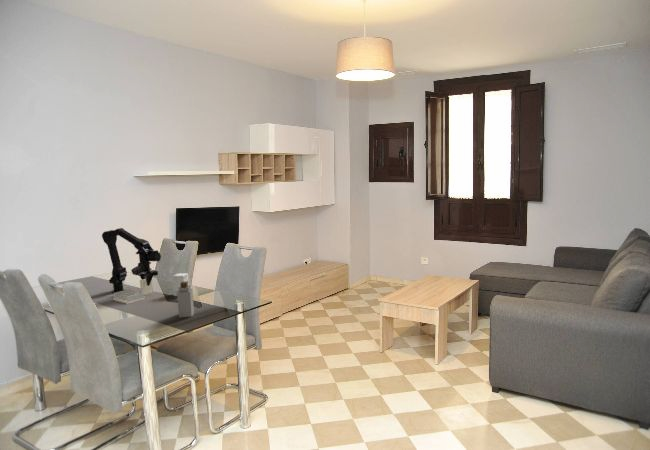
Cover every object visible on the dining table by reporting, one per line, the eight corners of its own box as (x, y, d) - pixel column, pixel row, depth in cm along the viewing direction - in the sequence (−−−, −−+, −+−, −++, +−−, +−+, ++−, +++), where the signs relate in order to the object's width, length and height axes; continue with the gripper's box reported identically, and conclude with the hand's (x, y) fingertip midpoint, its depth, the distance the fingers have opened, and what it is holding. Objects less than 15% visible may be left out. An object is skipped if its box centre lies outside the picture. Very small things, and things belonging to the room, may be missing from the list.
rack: (113, 299, 299) (112, 293, 298) (131, 294, 308) (131, 288, 307) (126, 303, 289) (126, 297, 289) (145, 298, 299) (144, 292, 298)
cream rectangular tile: (141, 294, 309) (139, 280, 308) (151, 291, 315) (149, 277, 314) (143, 294, 308) (142, 280, 307) (153, 291, 313) (152, 278, 312)
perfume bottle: (181, 313, 269) (178, 281, 266) (194, 312, 269) (191, 280, 267) (178, 317, 262) (176, 284, 260) (191, 316, 263) (189, 283, 260)
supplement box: (184, 296, 301) (183, 276, 300) (173, 296, 303) (171, 275, 301) (190, 292, 309) (188, 273, 307) (179, 292, 310) (177, 272, 308)
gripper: (124, 261, 308) (126, 286, 310) (141, 265, 296) (143, 290, 299) (140, 258, 317) (142, 282, 319) (157, 261, 305) (159, 286, 307)
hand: (146, 285), depth 311 cm, fingers open, 4 cm apart
